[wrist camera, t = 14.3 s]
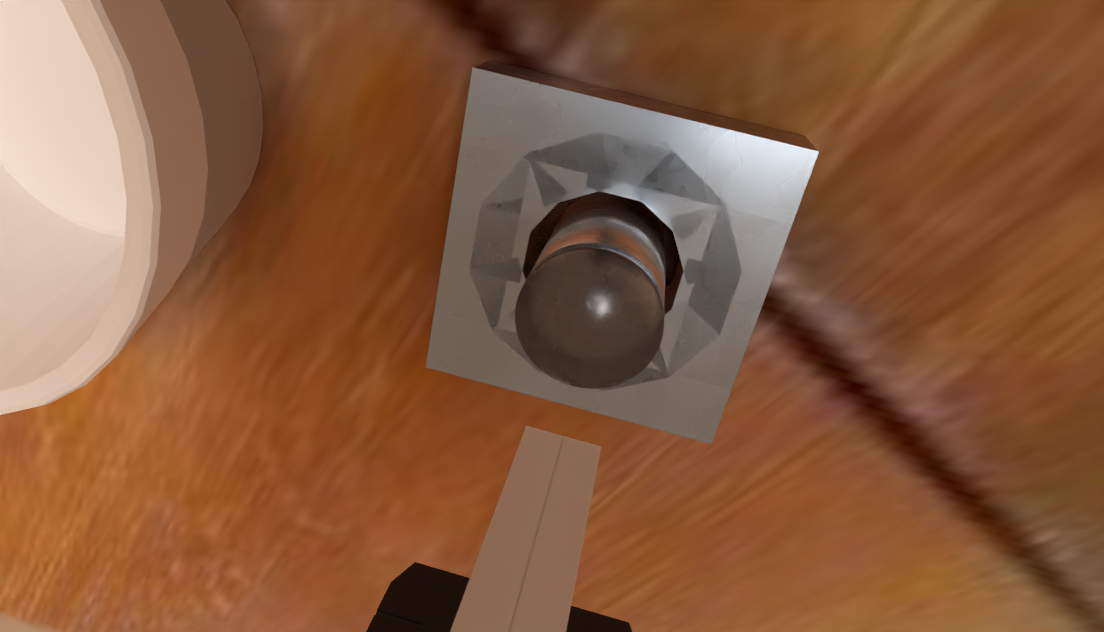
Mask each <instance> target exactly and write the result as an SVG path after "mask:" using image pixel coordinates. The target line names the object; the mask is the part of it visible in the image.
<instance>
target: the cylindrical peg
mask: <svg viewBox="0 0 1104 632" xmlns="http://www.w3.org/2000/svg"><path fill="white" fill-rule="evenodd" d="M666 256H667V237H666V232H665V228H664V225H663V223H662V221H661V220H660V219H659V218H658V217H657V216H656V215H655V214H654V213H653V212H652V211H651V210H650V209H649V208H648V207H647V206H646V205H645V204H644V203H643V202H641V201H637V200H633V199H629V198H625V197H621V196H617V195H613V194H609V193H605V192H601V191H598V192H595V193H591V194H587V195H584V196H581V197H579V198H578V199H576V200H575V201H574V202H572V203H571V204H570V205H569V206H568V207H567V209H566V210H565V211H564V212H563V214H562V216H561V217H560V219H559V221H558V223H557V225H556V227H555V228H554V230H553V232H552V234H551V236H550V238H549V240H548V241H547V243H546V245H545V247H544V249H543V251H542V253H541V254H540V256H539V258H538V260H537V262H536V264H535V266H534V267H533V269H532V271H531V273H530V274H529V276H528V277H527V279H526V281H525V283H524V285H523V286H522V289H521V291H520V293H519V295H518V299H517V302H516V308H515V325H516V331H517V335H518V338H519V341H520V343H521V345H522V347H523V349H524V351H525V352H526V354H527V355H528V357H529V358H530V359H531V361H532V362H533V363H534V364H535V365H536V366H537V367H538V368H539V369H540V370H542V371H543V372H544V373H546V374H547V375H549V376H550V377H552V378H553V379H555V380H558V381H560V382H562V383H564V384H567V385H570V386H574V387H579V388H588V389H599V388H607V387H612V386H615V385H619V384H621V383H624V382H626V381H628V380H630V379H632V378H633V377H635V376H636V375H638V374H639V373H640V372H642V371H643V370H644V369H645V368H646V367H647V366H648V365H649V363H650V362H651V361H652V360H653V358H654V357H655V355H656V353H657V351H658V349H659V347H660V344H661V341H662V337H663V332H664V317H665V312H664V302H665V279H666Z"/></svg>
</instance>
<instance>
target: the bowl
mask: <svg viewBox="0 0 1104 632" xmlns="http://www.w3.org/2000/svg"><path fill="white" fill-rule="evenodd" d="M263 128H264V123H263V107H262V92H261V87H260V83H259V79H258V75H257V71H256V66H255V62H254V58H253V55H252V52H251V50H250V48H249V45H248V43H247V40H246V38H245V36H244V33H243V31H242V28H241V26H240V24H239V21H238V19H237V18H236V16H235V14H234V13H233V11H232V9H231V8H230V6H229V5H228V3H227V1H226V0H0V415H2V414H7V413H11V412H16V411H20V410H25V409H29V408H33V407H38V406H42V405H47V404H49V403H51V402H53V401H55V400H57V399H59V398H61V397H63V396H65V395H67V394H69V393H71V392H73V391H75V390H76V389H78V388H80V387H82V386H84V385H86V384H87V383H88V382H89V381H90V380H91V379H93V378H94V377H95V376H96V375H97V374H98V373H99V372H100V371H101V370H102V369H103V368H104V367H105V366H106V365H107V364H109V363H110V362H111V361H112V360H113V359H114V358H115V357H116V356H117V355H118V354H119V353H120V352H121V350H122V349H123V348H124V347H125V345H126V344H127V343H128V342H129V341H130V339H131V338H132V337H133V336H134V334H135V333H136V332H137V331H138V330H139V328H140V327H141V326H142V325H143V323H144V322H145V321H146V320H147V319H148V317H149V316H150V315H151V314H152V312H153V311H154V310H155V309H156V308H157V306H158V305H159V304H160V303H161V301H162V300H163V299H164V298H165V297H166V295H167V294H168V293H169V292H170V290H171V289H172V287H173V285H174V284H175V283H176V281H177V280H178V279H179V278H180V276H181V275H182V274H183V273H184V272H185V270H186V269H187V268H188V267H189V265H190V264H191V263H192V262H193V261H194V259H195V258H196V257H197V256H198V254H199V253H200V252H201V251H202V250H203V248H204V247H205V246H206V245H207V244H208V242H209V241H210V240H211V239H212V237H213V236H214V235H215V234H216V233H217V231H218V230H219V229H220V228H221V226H222V225H223V224H224V223H225V222H226V220H227V219H228V218H229V217H230V216H231V214H232V213H233V212H234V211H235V209H236V208H237V206H238V204H239V203H240V201H241V200H242V198H243V196H244V195H245V193H246V192H247V190H248V188H249V187H250V185H251V182H252V179H253V176H254V173H255V170H256V167H257V164H258V161H259V159H260V152H261V144H262V136H263Z"/></svg>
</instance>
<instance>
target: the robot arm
mask: <svg viewBox="0 0 1104 632" xmlns="http://www.w3.org/2000/svg"><path fill="white" fill-rule="evenodd" d="M600 451H601V446H598V445H595V444H591V443H587V442H584V441H580V440H577V439H573V438H569V437H566V436H562V435H558V434H555V433H551V432H548V431H544V430H540V429H537V428H533V427H530V426H526V428H525V431H524V433H523V436H522V439H521V441H520V444H519V447H518V450H517V452H516V455H515V458H514V460H513V463H512V466H511V468H510V471H509V474H508V477H507V479H506V482H505V485H504V487H503V490H502V493H501V495H500V498H499V501H498V504H497V506H496V509H495V512H494V514H493V517H492V520H491V522H490V525H489V528H488V531H487V533H486V536H485V539H484V541H483V544H482V547H481V549H480V552H479V555H478V558H477V560H476V563H475V566H474V568H473V571H472V574H471V577H470V578H467V577H464V576H460V575H457V574H454V573H450V572H447V571H443V570H440V569H436V568H433V567H430V566H426V565H423V564H419V563H416V562H415V563H414V564H412V565H411V566H410V567H409V568H408V569H406V570H405V571H404V572H403V573H402V574H400V575H399V576H398V577H397V578H396V579H394V580H393V581H392V582H391V583H390V585H389V587H388V589H387V591H386V593H385V595H384V597H383V599H382V601H381V603H380V605H379V607H378V609H377V612H376V615H374V617H373V619H372V621H371V623H370V625H369V627H368V629H367V631H366V632H632V630H631V627H630V624H629V623H628V622H625V621H621V620H618V619H614V618H611V617H608V616H604V615H601V614H597V613H594V612H590V611H587V610H584V609H580V608H577V607H573V606H571V603H572V598H573V593H574V587H575V582H576V577H577V572H578V567H579V561H580V556H581V551H582V546H583V540H584V535H585V530H586V525H587V519H588V514H589V509H590V504H591V498H592V493H593V488H594V483H595V477H596V472H597V467H598V462H599V457H600Z"/></svg>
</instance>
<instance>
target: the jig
mask: <svg viewBox="0 0 1104 632" xmlns="http://www.w3.org/2000/svg"><path fill="white" fill-rule="evenodd" d="M818 153H819V151H818V150H817V149H816V148H815V147H814V146H813V144H812V143H811V142H810V141H809V140H808V139H807V138H806V137H805V136H803V135H799V134H794V133H790V132H786V131H782V130H778V129H774V128H770V127H765V126H761V125H757V124H753V123H749V122H745V121H741V120H737V119H732V118H728V117H724V116H720V115H716V114H712V113H708V112H703V111H699V110H695V109H691V108H687V107H683V106H679V105H675V104H670V103H666V102H662V101H658V100H654V99H650V98H646V97H641V96H637V95H633V94H629V93H625V92H621V91H617V90H613V89H608V88H604V87H600V86H596V85H592V84H588V83H584V82H579V81H575V80H571V79H567V78H563V77H559V76H555V75H551V74H546V73H542V72H538V71H534V70H530V69H526V68H522V67H517V66H513V65H509V64H505V63H501V62H497V61H490V62H487V63H484V64H481V65H478V66H475V67H472V73H471V80H470V86H469V92H468V99H467V105H466V112H465V118H464V124H463V131H462V137H461V144H460V150H459V156H458V163H457V169H456V176H455V182H454V188H453V195H452V201H451V208H450V214H449V220H448V227H447V233H446V240H445V246H444V252H443V259H442V265H441V272H440V278H439V284H438V291H437V297H436V304H435V310H434V316H433V323H432V329H431V336H430V342H429V348H428V355H427V361H426V368H430V369H434V370H438V371H441V372H445V373H449V374H452V375H456V376H460V377H464V378H467V379H471V380H475V381H479V382H482V383H486V384H490V385H493V386H497V387H501V388H505V389H508V390H512V391H516V392H519V393H523V394H527V395H531V396H534V397H538V398H542V399H546V400H549V401H553V402H557V403H560V404H564V405H568V406H572V407H575V408H579V409H583V410H587V411H590V412H594V413H598V414H601V415H605V416H609V417H613V418H616V419H620V420H624V421H628V422H631V423H635V424H639V425H642V426H646V427H650V428H654V429H657V430H661V431H665V432H668V433H672V434H676V435H680V436H683V437H687V438H691V439H695V440H698V441H702V442H706V443H709V444H712V441H713V438H714V436H715V433H716V430H717V428H718V425H719V422H720V419H721V417H722V414H723V411H724V408H725V406H726V403H727V400H728V398H729V395H730V392H731V389H732V387H733V384H734V381H735V379H736V376H737V373H738V370H739V368H740V365H741V362H742V359H743V357H744V354H745V351H746V349H747V346H748V343H749V340H750V338H751V335H752V332H753V330H754V327H755V324H756V321H757V319H758V316H759V313H760V311H761V308H762V305H763V302H764V300H765V297H766V294H767V291H768V289H769V286H770V283H771V281H772V278H773V275H774V272H775V270H776V267H777V264H778V262H779V259H780V256H781V253H782V251H783V248H784V245H785V242H786V240H787V237H788V234H789V232H790V229H791V226H792V223H793V221H794V218H795V215H796V213H797V210H798V207H799V204H800V202H801V199H802V196H803V194H804V191H805V188H806V185H807V183H808V180H809V177H810V174H811V172H812V169H813V166H814V164H815V161H816V158H817V155H818ZM598 191H601V192H605V193H609V194H613V195H617V196H621V197H625V198H629V199H633V200H637V201H641V202H643V203H644V204H645V205H646V206H647V207H648V208H649V209H650V210H651V211H652V212H653V213H654V214H655V215H656V216H657V217H658V218H659V219H660V220H661V221H663V222H664V223H665V224H666V225H667V226H668V227H669V228H670V229H671V230H672V231H673V234H674V237H675V241H676V245H677V248H678V252H679V256H680V258H679V261H678V264H677V268H676V271H675V274H674V278H673V281H672V282H671V283H670V284H668V285H667V286H666V287H665V302H664V312H665V317H664V332H663V337H662V341H661V344H660V347H659V349H658V351H657V353H656V355H655V357H654V358H653V360H652V361H651V362H650V363H649V365H648V366H647V367H646V368H645V369H644V370H643V371H642V372H640V373H639V374H638V375H636V376H635V377H633V378H632V379H630V380H628V381H626V382H624V383H621V384H619V385H615V386H612V387H607V388H599V389H588V388H579V387H574V386H570V385H567V384H564V383H562V382H560V381H558V380H555V379H553V378H552V377H550V376H549V375H547V374H546V373H544V372H543V371H542V370H540V369H539V368H538V367H537V366H536V365H535V364H534V363H533V362H532V361H531V359H530V358H529V357H528V355H527V354H526V352H525V351H524V349H523V347H522V345H521V343H520V341H519V338H518V335H517V331H516V325H515V308H516V302H517V299H518V295H519V293H520V291H521V289H522V286H523V285H524V283H525V281H526V279H527V277H528V276H529V274H530V273H531V271H532V269H533V267H534V266H535V264H536V262H537V260H538V258H539V256H540V255H539V252H538V249H537V246H536V245H537V240H538V236H539V231H540V226H541V222H542V219H543V218H544V217H545V216H546V215H547V214H548V213H549V212H550V211H551V210H552V209H553V208H554V207H555V206H556V204H557V203H559V202H562V201H566V200H569V199H573V198H577V197H580V196H584V195H587V194H591V193H595V192H598Z"/></svg>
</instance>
